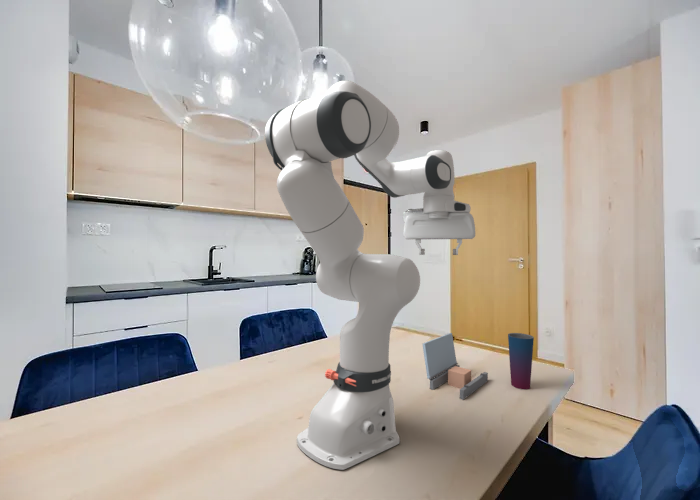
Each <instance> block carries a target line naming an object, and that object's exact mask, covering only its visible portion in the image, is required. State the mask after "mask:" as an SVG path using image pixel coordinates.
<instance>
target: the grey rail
mask: <svg viewBox="0 0 700 500" xmlns="http://www.w3.org/2000/svg"><path fill="white" fill-rule="evenodd" d="M456 366H457V367H461V366H460V365H459V364H457V365H456ZM454 367H455V366H454ZM452 368H453V367H452ZM450 369H451V368H450ZM488 376H489V373H488V371H487V372H486V371H484V372H481V373H480V375H478V376H477V377H475V378H474V379H471V382H470V383H468V384H467V385H464V387H462V388H461V389H460V388H459V400H462V401H463V400H465V399H466V398H468V397H469V396H470V395H471V394H473V393H475V391H476V390H478V389H479V388H480V387H482V386H483V385H484V384H486V383H487V382H488V379H489V377H488ZM446 382H448V370H447V371H445V372H443V373H442V374H440V375H438V376H436V377H434V378H433V379H431V380H429V390H432V391H433V390H435V389H438V387H440V386H441V385H443V384H445V383H446Z"/></svg>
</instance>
